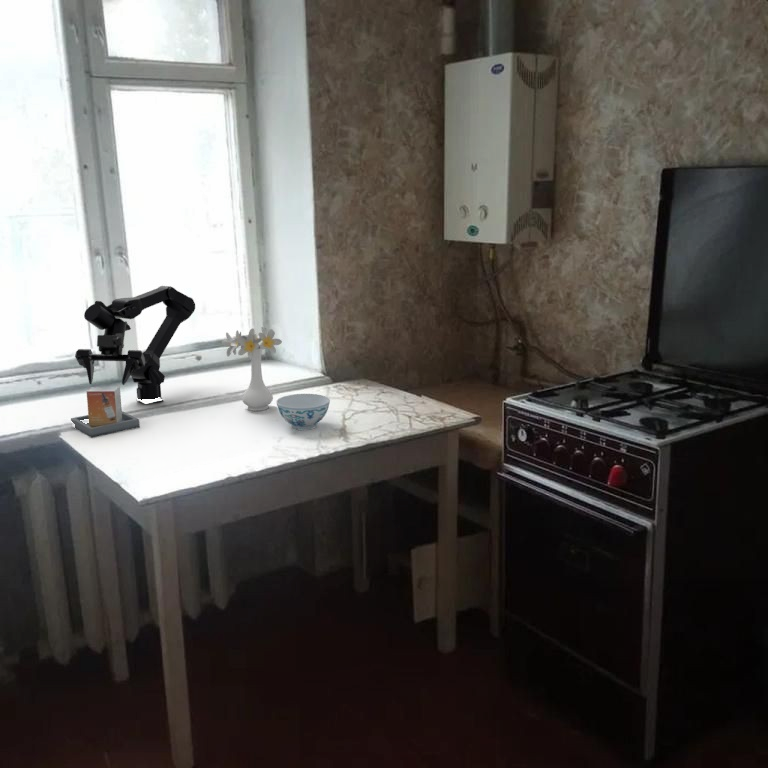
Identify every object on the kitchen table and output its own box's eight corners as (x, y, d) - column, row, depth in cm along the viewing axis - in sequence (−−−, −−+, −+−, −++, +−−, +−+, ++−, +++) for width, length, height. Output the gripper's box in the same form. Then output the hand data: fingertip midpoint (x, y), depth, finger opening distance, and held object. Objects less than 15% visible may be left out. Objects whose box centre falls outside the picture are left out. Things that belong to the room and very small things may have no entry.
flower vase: (234, 401, 255) (230, 323, 249) (290, 404, 252) (287, 325, 246) (219, 413, 243) (214, 331, 237) (277, 416, 240) (274, 333, 233)
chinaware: (303, 416, 240) (303, 390, 238) (341, 425, 230) (340, 399, 228) (266, 427, 228) (265, 401, 226) (304, 438, 219) (303, 410, 217)
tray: (118, 417, 239) (117, 409, 239) (139, 427, 229) (138, 419, 229) (71, 426, 230) (70, 418, 230) (91, 437, 220) (90, 429, 220)
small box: (89, 427, 227) (85, 391, 224) (95, 421, 232) (91, 386, 230) (117, 427, 227) (114, 390, 224) (123, 421, 232) (120, 385, 230)
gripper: (74, 322, 231) (65, 370, 224) (140, 323, 232) (134, 371, 225) (84, 341, 241) (76, 388, 233) (148, 343, 242) (141, 389, 235)
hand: (106, 383), depth 231 cm, fingers open, 9 cm apart
